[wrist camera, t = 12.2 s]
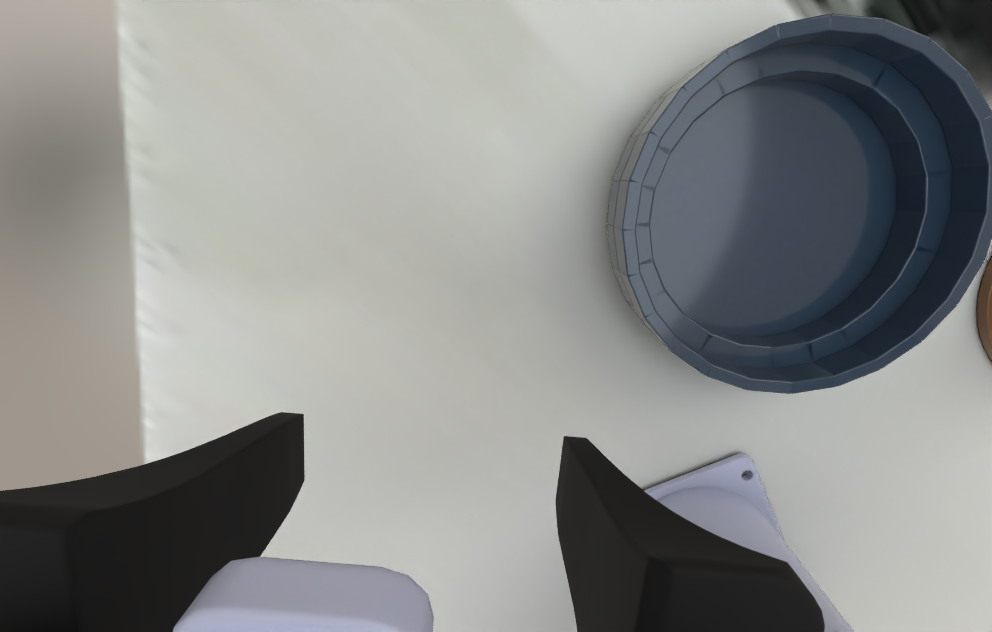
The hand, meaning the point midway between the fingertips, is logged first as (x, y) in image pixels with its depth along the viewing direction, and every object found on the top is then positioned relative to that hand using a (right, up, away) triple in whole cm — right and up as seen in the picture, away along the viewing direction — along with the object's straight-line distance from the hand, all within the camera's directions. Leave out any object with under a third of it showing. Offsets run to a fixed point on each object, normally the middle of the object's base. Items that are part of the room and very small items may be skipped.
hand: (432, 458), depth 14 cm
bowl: (+13, +8, +7) cm, 17 cm away
